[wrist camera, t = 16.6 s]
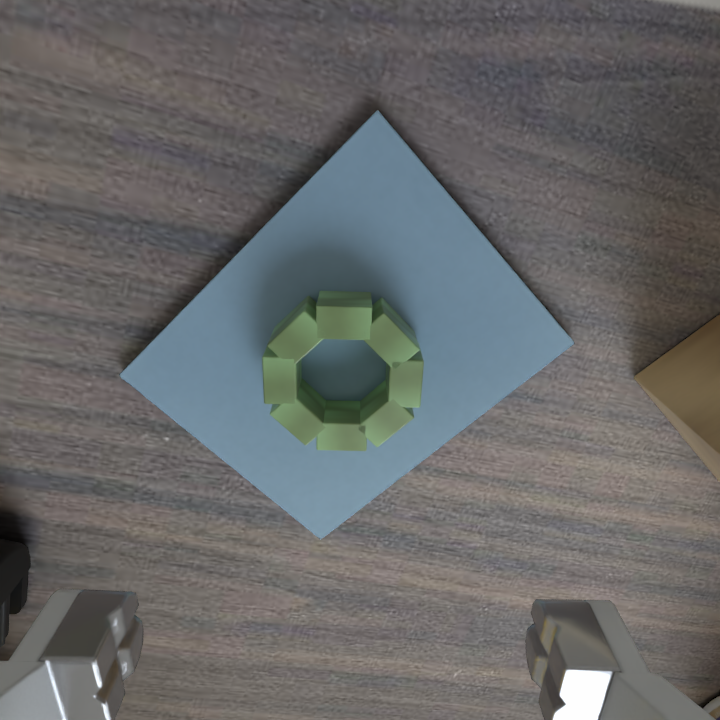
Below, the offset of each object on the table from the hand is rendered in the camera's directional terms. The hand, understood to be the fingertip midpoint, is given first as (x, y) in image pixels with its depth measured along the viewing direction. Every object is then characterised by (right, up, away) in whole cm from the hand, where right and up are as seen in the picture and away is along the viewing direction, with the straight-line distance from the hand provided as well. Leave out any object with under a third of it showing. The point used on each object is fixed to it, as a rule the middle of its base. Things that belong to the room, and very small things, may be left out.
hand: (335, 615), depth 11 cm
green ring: (0, +5, +13) cm, 14 cm away
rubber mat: (0, +5, +14) cm, 15 cm away
